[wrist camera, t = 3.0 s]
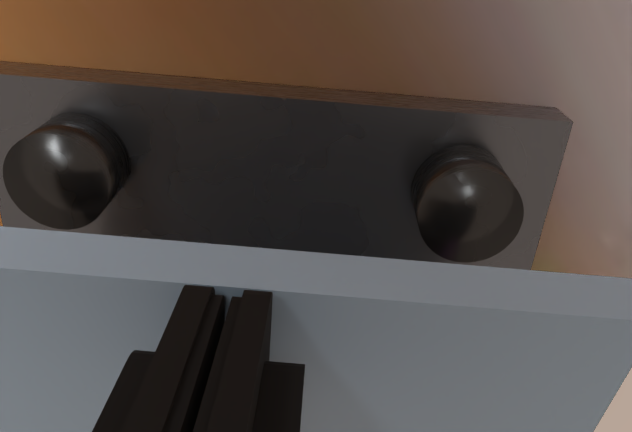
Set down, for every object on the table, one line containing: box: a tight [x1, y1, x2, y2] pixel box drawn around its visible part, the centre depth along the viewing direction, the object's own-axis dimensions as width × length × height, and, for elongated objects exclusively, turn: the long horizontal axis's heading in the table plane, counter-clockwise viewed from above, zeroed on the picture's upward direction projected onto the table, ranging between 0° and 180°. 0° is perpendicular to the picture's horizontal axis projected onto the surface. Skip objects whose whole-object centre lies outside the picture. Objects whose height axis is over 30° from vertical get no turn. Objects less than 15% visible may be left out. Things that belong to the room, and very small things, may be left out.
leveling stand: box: [0, 61, 573, 270], centre depth 21 cm, size 21×18×6 cm
